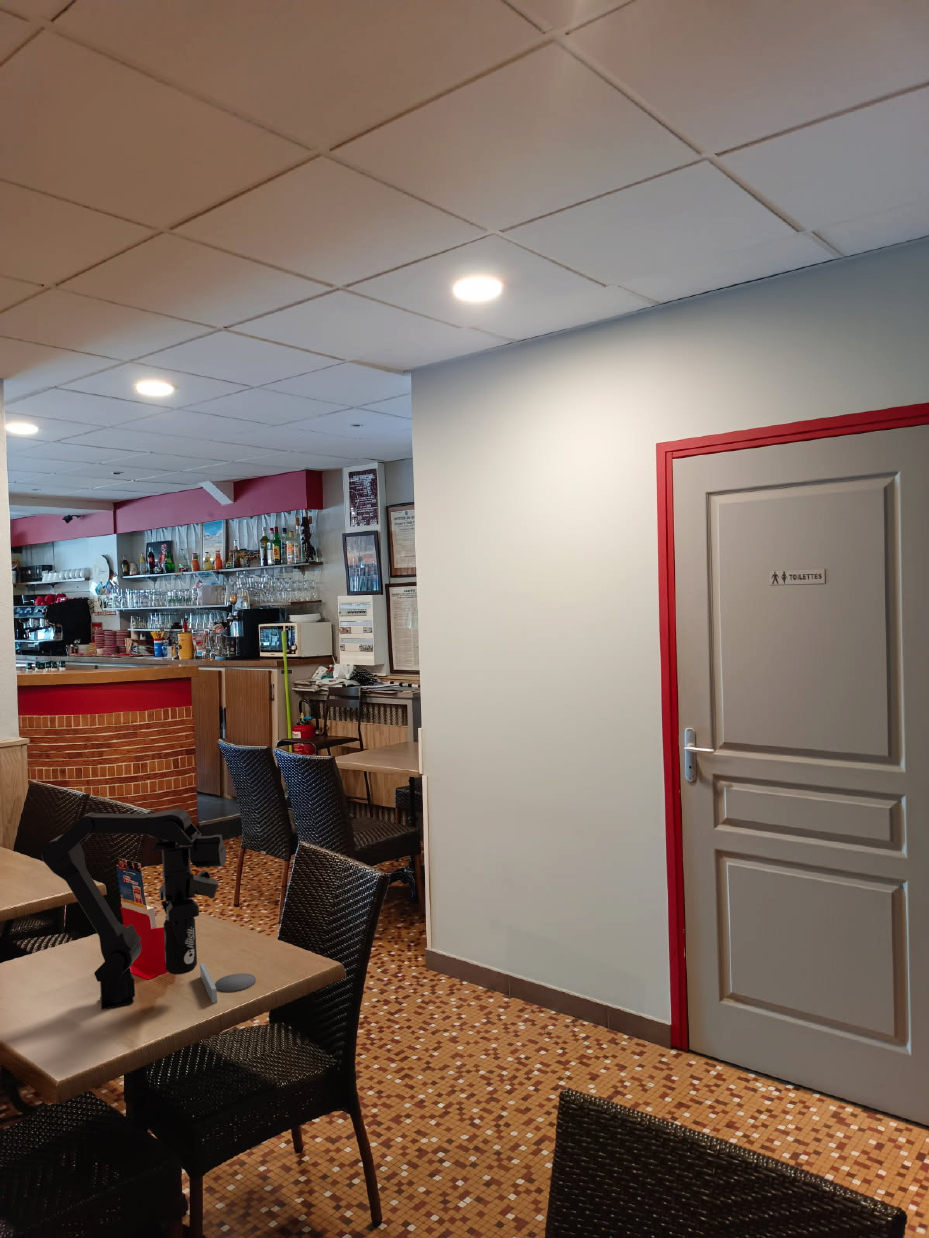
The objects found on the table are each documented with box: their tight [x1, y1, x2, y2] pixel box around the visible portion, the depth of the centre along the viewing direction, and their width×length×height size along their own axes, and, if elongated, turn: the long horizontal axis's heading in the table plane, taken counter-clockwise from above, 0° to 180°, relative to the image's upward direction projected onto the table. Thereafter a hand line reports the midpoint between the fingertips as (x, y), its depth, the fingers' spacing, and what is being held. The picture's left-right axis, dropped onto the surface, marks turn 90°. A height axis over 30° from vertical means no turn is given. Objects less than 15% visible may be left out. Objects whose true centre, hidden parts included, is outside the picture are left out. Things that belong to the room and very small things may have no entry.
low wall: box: [199, 962, 218, 1004], centre depth 202 cm, size 1×16×3 cm, turn 25°
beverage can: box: [163, 915, 198, 975], centre depth 198 cm, size 7×7×12 cm
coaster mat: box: [214, 972, 257, 993], centre depth 204 cm, size 9×9×1 cm
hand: (180, 939), depth 198 cm, fingers closed on beverage can, 6 cm apart
